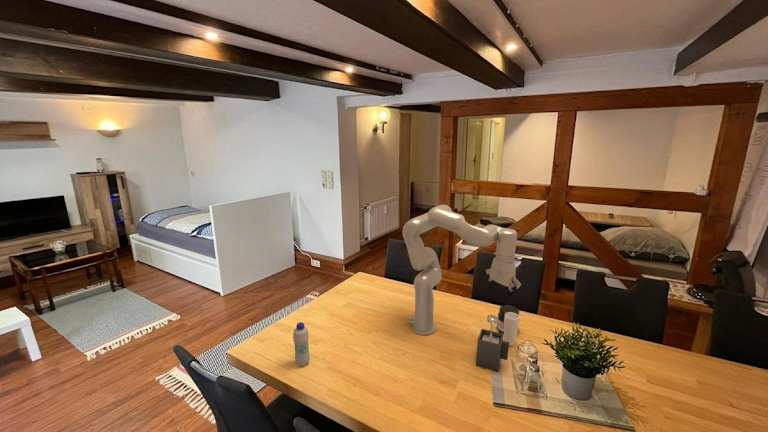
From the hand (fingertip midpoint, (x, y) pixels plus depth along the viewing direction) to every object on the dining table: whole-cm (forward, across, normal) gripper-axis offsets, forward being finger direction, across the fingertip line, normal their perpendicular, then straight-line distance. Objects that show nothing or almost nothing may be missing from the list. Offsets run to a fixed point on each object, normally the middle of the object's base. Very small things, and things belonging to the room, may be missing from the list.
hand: (500, 293), depth 147 cm
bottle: (+33, -43, -76) cm, 93 cm away
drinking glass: (+31, -2, +14) cm, 34 cm away
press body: (+31, +3, -5) cm, 32 cm away
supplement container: (+32, -9, +22) cm, 40 cm away
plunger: (+21, +2, -6) cm, 22 cm away
